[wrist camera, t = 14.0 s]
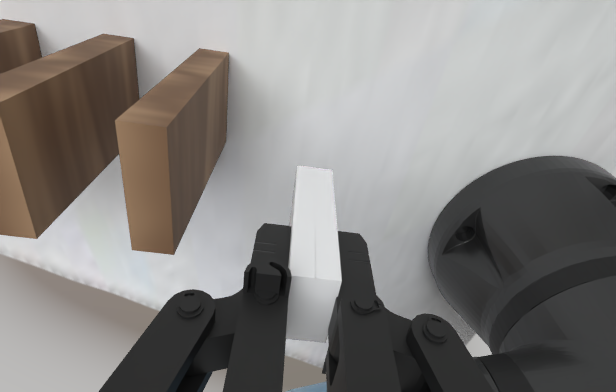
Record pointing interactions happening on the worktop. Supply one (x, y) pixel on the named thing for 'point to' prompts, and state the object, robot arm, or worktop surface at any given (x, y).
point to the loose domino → (172, 149)
